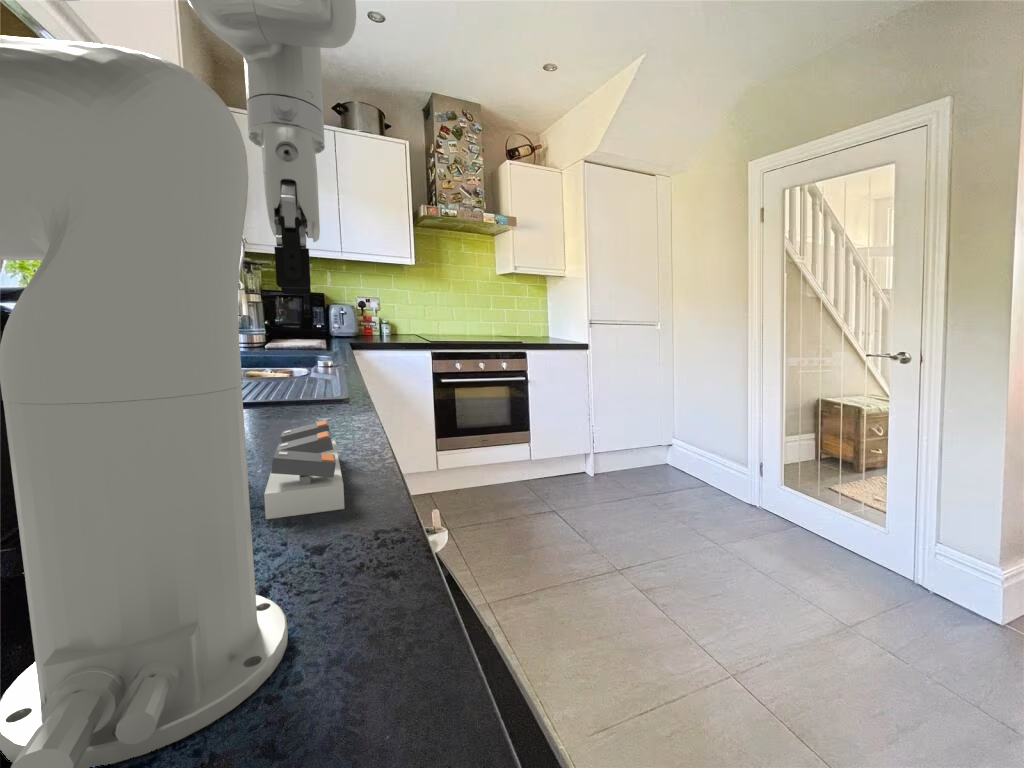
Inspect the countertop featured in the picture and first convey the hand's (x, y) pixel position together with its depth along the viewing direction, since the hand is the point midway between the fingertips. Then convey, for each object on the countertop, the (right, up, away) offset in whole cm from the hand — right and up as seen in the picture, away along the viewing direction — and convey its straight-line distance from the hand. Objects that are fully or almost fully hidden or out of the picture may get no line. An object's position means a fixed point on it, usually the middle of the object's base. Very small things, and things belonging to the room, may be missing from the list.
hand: (295, 290), depth 54 cm
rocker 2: (-1, -18, +5) cm, 19 cm away
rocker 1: (-4, -17, +12) cm, 21 cm away
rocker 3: (+2, -19, -3) cm, 19 cm away
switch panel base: (-1, -23, +5) cm, 23 cm away
